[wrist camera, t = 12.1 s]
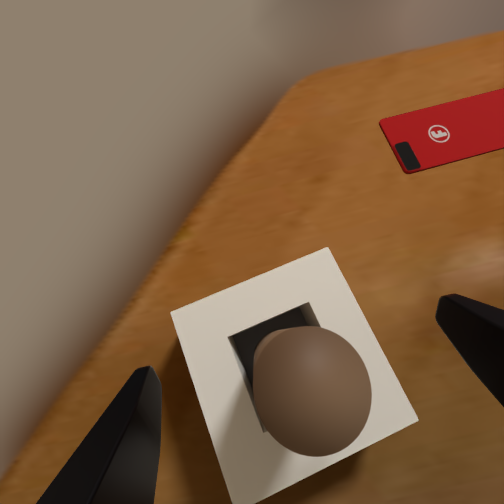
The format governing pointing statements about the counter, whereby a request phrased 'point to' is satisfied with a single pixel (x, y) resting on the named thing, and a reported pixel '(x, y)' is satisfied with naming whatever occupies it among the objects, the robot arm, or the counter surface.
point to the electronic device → (447, 131)
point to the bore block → (241, 369)
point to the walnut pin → (310, 390)
